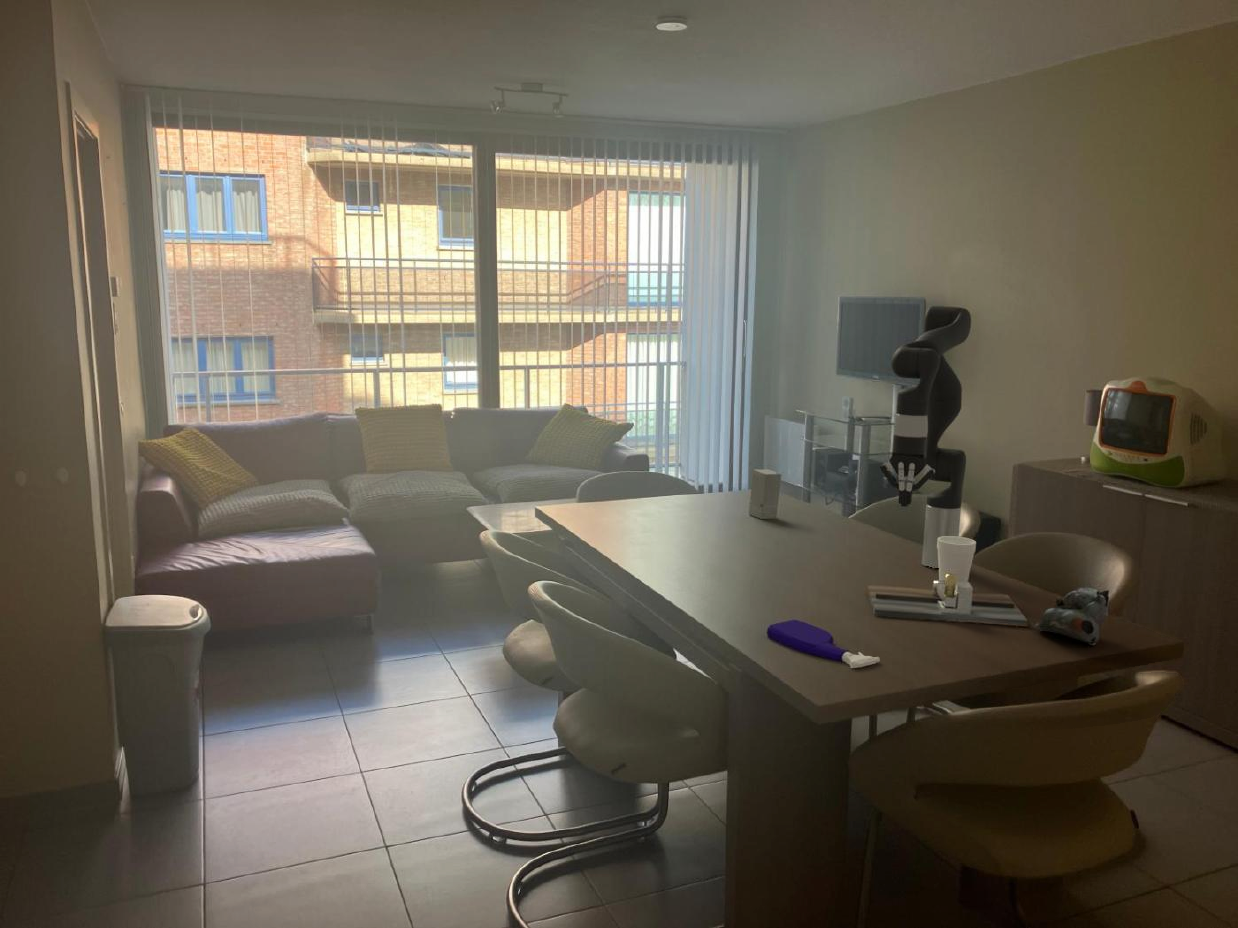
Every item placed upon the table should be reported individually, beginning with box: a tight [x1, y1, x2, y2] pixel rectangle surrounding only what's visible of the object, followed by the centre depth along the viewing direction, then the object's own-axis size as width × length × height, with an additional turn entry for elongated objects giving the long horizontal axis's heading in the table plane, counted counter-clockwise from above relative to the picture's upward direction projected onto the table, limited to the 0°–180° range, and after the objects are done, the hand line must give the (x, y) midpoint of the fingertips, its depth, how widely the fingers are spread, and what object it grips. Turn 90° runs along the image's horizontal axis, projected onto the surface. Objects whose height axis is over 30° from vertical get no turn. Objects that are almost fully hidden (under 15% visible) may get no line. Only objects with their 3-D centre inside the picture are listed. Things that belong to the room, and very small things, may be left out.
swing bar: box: [932, 574, 957, 607], centre depth 239 cm, size 16×4×7 cm, turn 171°
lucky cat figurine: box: [1033, 587, 1110, 644], centre depth 220 cm, size 15×12×14 cm
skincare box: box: [748, 468, 782, 520], centre depth 337 cm, size 8×7×16 cm
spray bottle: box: [766, 619, 881, 669], centre depth 209 cm, size 3×11×24 cm
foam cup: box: [937, 536, 977, 582], centre depth 255 cm, size 10×9×13 cm
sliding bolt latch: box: [867, 584, 1028, 626], centre depth 240 cm, size 21×34×3 cm, turn 81°
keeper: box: [937, 581, 974, 615], centre depth 233 cm, size 6×7×6 cm
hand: (904, 505), depth 235 cm, fingers closed
